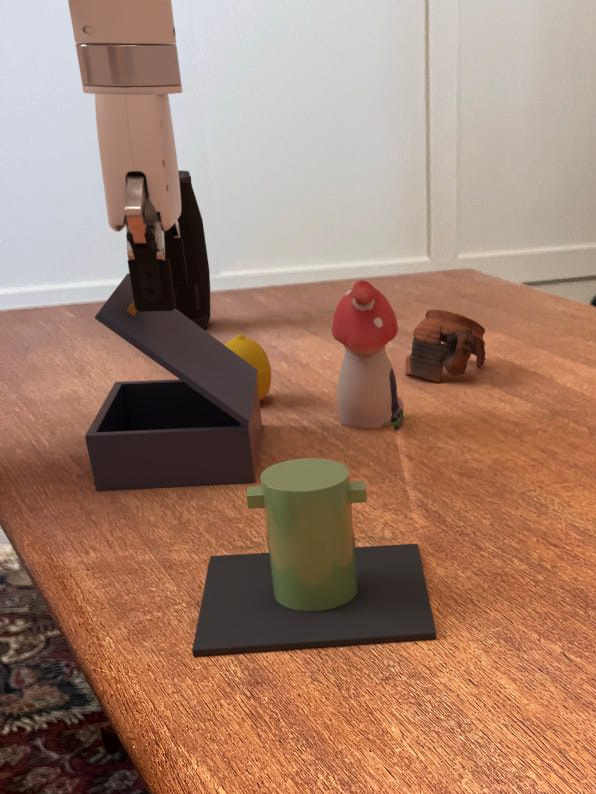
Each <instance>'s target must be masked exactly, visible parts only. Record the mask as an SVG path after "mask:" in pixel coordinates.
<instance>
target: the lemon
mask: <svg viewBox="0 0 596 794" xmlns="http://www.w3.org/2000/svg"><path fill="white" fill-rule="evenodd" d="M224 345H225V346H226V347H228V348H229V349H230V350H232V351H233V352H234V353H236V354H237V355H238V356H240V357H241V358H242V359H244V360H245V361H246V362H248V363H249V364H250V365H252V366H253V367H254V368H256V369H257V370H258V372H257V384H258V393H259V401H260V402H261V401H262V400H264V398H265V397H266V396H267V395H268V393H269V391H270V389H271V383H272V367H271V364H270V360H269V358H268V355H267V352H266V351H265V349H264V348H263V347H262V346H261V344H259V343H258V342H257V341H256V340H254V339H252V338H249V337H246V336H245V335H244V334H241V333H240V334H236V336H235V337H234V338H232V339H230V340H228V341H227V342H226V343H225V344H224Z"/></svg>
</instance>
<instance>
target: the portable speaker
mask: <svg viewBox="0 0 596 794" xmlns="http://www.w3.org/2000/svg"><path fill="white" fill-rule="evenodd" d="M178 172H179V182H180V193H181V214H180V216H179V218H178V219H177V220H178V224H179V229H180V238H182V241H183V248H184V256H185V263H186V271H187V279H188V282H187V284H186V285H185V286H173V290H174V297H175V304H176V306H175V308H176V309H177V310H178V311H180V312H181V313H182V314H184V315H185V316H186V317H188V318H189V319H190V320H192V321H193V322H194V323H196V324H197V325H198V326H200V327H201V328H202V329H204V330H205V331H206V330H208V327H209V322H210V319H211V276H210V275H211V274H210V265H209V256H208V249H207V242H206V236H205V235H206V234H205V230H204V229H205V228H204V221H203V217H202V214H201V213H202V212H201V209H200V208H199V204H198V200H197V197H196V194H195V191H194V187H193V183H192V176H191V174H190V171H189V170H179V169H178Z"/></svg>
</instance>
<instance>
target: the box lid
mask: <svg viewBox="0 0 596 794" xmlns="http://www.w3.org/2000/svg"><path fill="white" fill-rule="evenodd" d="M94 319H95V320H96V321H98V322H99V323H100V324H102V325H103V326H105V327H106V328H107V329H109V330H110V331H111V332H113V333H114V334H116V335H117V336H119V338H121V339H123V340H124V341H125V342H127V343H128V344H129V345H131V346H132V347H134V348H135V349H137V350H138V351H140V352H141V353H142V354H144V355H145V356H146V357H148V358H149V359H150V360H152V361H153V362H155V363H156V364H158V365H159V366H161V368H163V369H164V370H166V371H167V372H169V373H170V374H172V376H174V377H176V378H177V379H180V380H181V381H183V382H184V383H186V384H187V385H188V386H190V387H191V388H193V389H194V390H195V391H197V392H198V393H200V394H201V395H202V396H204V397H205V398H207V399H208V400H209V401H211V402H212V403H214V404H215V405H216V406H218V407H219V408H221V409H222V410H223V411H225V412H226V413H227V414H229V415H230V416H232V417H233V418H234V419H236V420H237V421H239V422H240V423H241V424H243V425H244V426H247V425H248V424H249V422H250V416H251V410H252V404H253V397H254V391H255V385H256V378H257V372H258V370H257V369H256V368H254V367H253V366H252V365H250V364H249V363H248V362H246V361H245V360H244V359H242V358H241V357H240V356H238V355H237V354H236V353H234V352H233V351H232V350H230V349H229V348H228V347H226V346H225V344H223V343H222V342H221V341H220V340H219V339H218V338H216V337H214V336H213V335H211V334H210V333H209V332H207V331H206V329H205V330H204V329H202V328H201V327H200V326H198V325H197V324H196V323H194V322H193V321H192V320H190V319H189V318H188V317H186V316H185V315H184V314H182V313H181V312H180V311H178V310H177V309H176V308H174V310H172V311H146V312H140V311H137V310H136V309H135V305H134V298H133V292H132V286H131V280H130V273H129V272H128V273H126V275H124V277H123V278H122V280H121V281H120V283H119V284H118V286H116V288H114V291H113V292H112V293H111V295H110V296H109V297H108V299H106V301H105V302H104V304H103V305H102V306H101V308H100V309H99V310H98V312H97V313H96V314H95V316H94Z"/></svg>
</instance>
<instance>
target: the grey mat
mask: <svg viewBox="0 0 596 794" xmlns="http://www.w3.org/2000/svg"><path fill="white" fill-rule="evenodd" d="M355 552H356V567H357V581H358V591H357V594H356V596H355V597H354V598H353V599H352V600H351V601H349V602H348V603H346V604H344V605H342V606H339V607H336V608H333V609H329V610H323V611H311V612H310V611H298V610H293V609H289V608H286V607H284V606H282V605H281V604H279V603H278V602H277V601H276V599H275V597H274V592H273V583H272V575H271V566H270V558H269V552H255V553H240V554H239V553H238V554H237V553H236V554H222V555H221V554H220V555H210V556H209V560H208V567H207V572H206V577H205V582H204V587H203V592H202V597H201V602H200V608H199V613H198V617H197V618H198V619H197V623H196V628H195V633H194V639H193V643H192V648H191V649H192V650H191V651H192V656H193V657H203V656H217V655H229V654H245V653H258V652H271V651H284V650H285V651H286V650H298V649H300V650H301V649H314V648H325V647H340V646H356V645H366V644H367V645H369V644H382V643H396V642H409V641H422V640H423V641H424V640H436V639H437V630H436V624H435V620H434V615H433V611H432V605H431V600H430V596H429V592H428V586H427V583H426V582H427V581H426V577H425V572H424V568H423V563H422V558H421V553H420V548H419V545H418V543H404V544H401V543H400V544H386V545H371V546H355Z"/></svg>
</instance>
